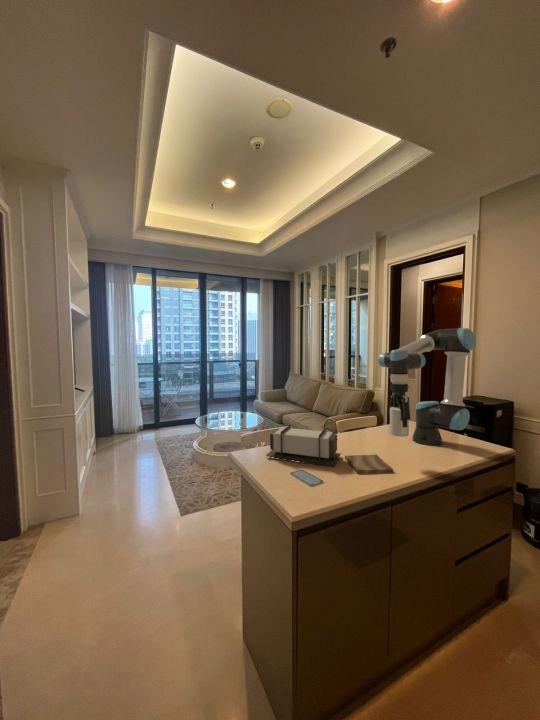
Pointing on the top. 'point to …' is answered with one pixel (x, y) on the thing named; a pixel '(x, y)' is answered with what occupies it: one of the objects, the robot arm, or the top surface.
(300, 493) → the top surface
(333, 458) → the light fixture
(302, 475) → the smartphone
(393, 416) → the beige cylinder
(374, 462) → the walnut board
